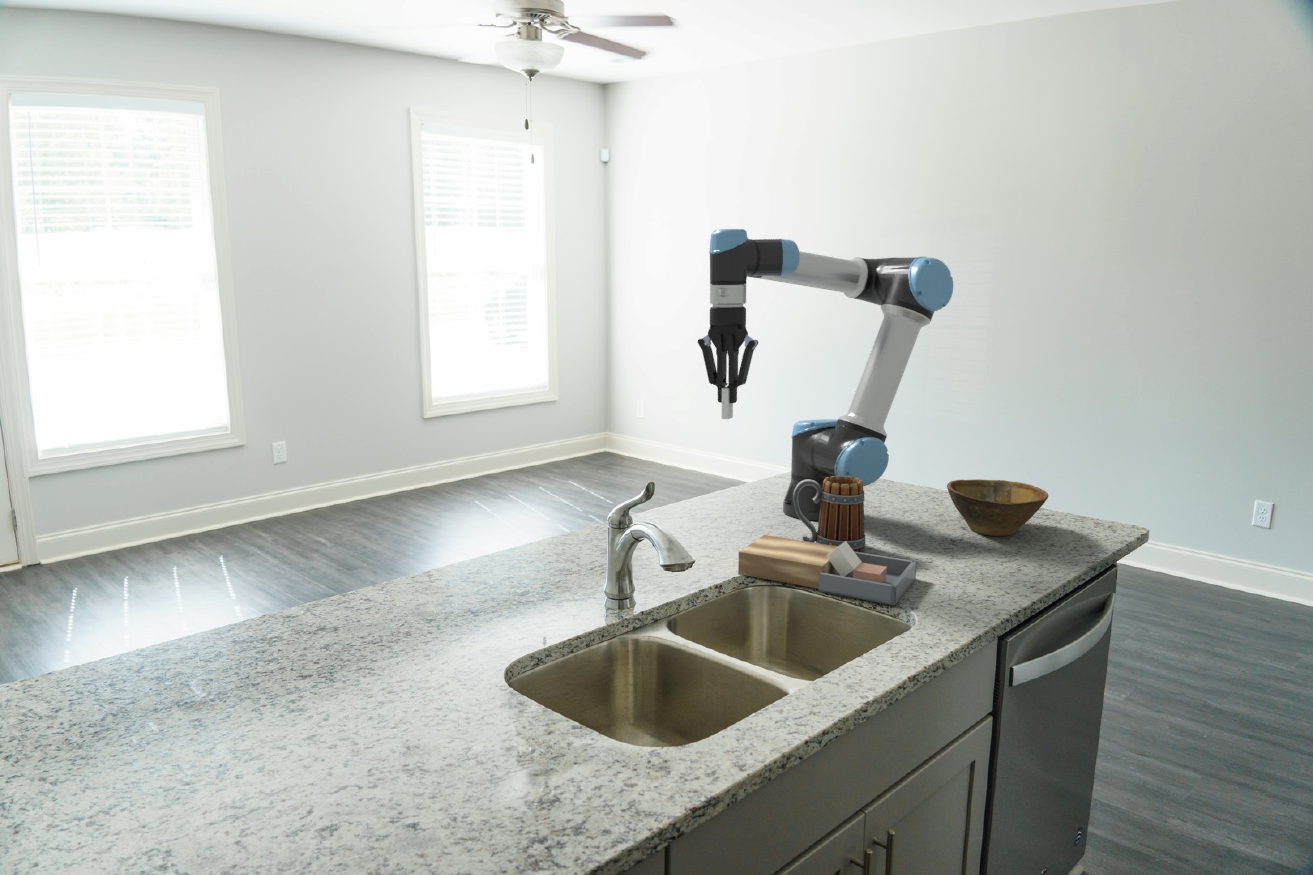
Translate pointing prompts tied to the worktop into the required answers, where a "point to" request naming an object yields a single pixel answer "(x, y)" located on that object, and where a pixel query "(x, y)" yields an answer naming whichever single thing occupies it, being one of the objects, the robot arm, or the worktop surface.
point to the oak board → (786, 560)
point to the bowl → (995, 504)
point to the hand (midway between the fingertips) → (727, 418)
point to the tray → (888, 593)
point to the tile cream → (843, 559)
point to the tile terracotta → (870, 572)
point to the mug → (836, 512)
